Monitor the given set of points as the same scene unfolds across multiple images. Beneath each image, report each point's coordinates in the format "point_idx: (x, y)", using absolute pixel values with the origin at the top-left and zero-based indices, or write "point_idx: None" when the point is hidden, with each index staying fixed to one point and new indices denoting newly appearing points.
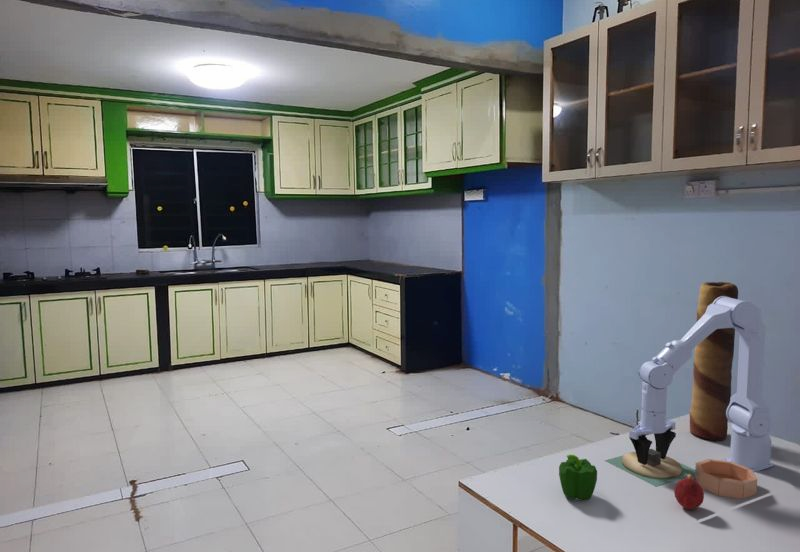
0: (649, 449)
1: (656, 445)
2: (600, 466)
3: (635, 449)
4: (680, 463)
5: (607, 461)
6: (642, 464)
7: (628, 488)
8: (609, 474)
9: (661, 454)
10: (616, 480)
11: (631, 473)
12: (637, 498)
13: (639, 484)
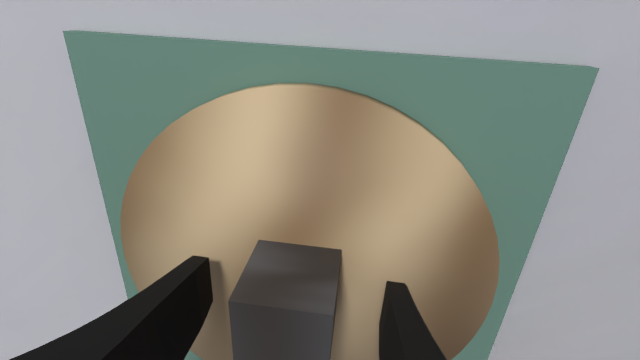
0: (304, 316)
1: (400, 346)
2: (14, 64)
3: (110, 316)
4: (494, 335)
5: (75, 58)
6: (228, 258)
7: (35, 300)
8: (17, 171)
9: (383, 336)
10: (20, 231)
11: (121, 250)
12: (26, 352)
13: (106, 308)
